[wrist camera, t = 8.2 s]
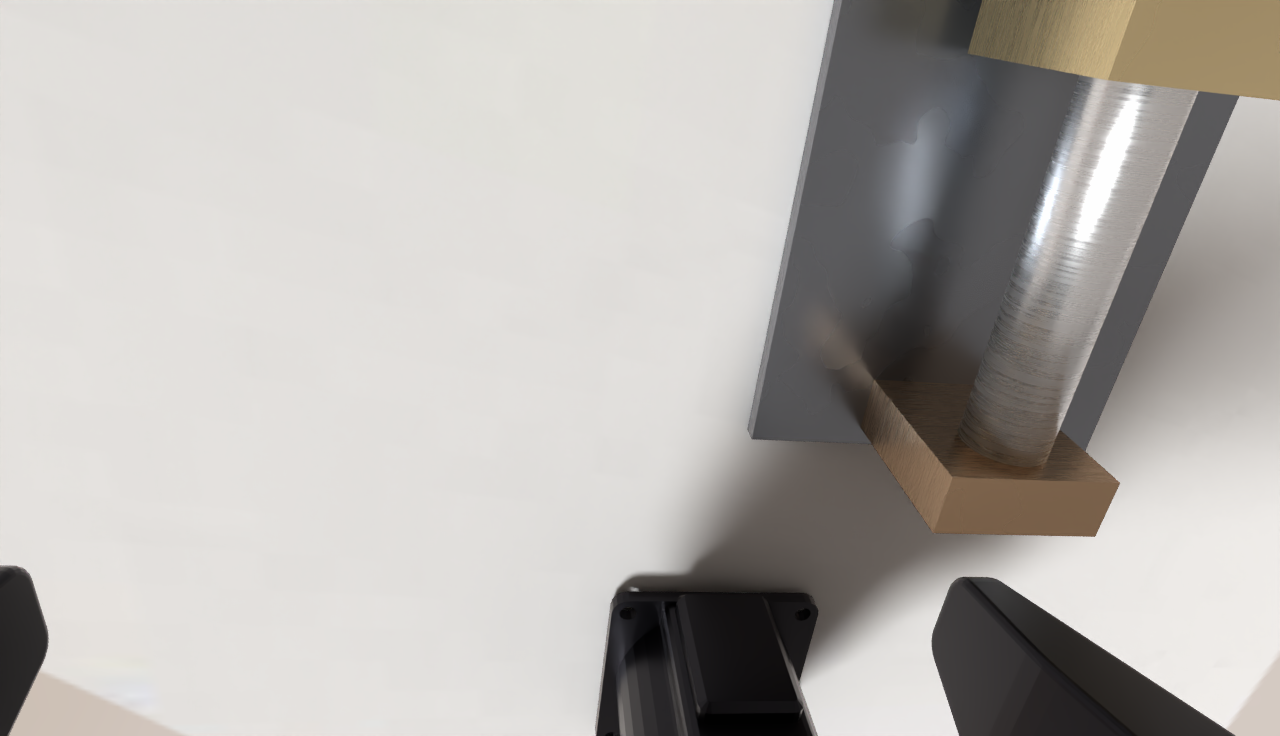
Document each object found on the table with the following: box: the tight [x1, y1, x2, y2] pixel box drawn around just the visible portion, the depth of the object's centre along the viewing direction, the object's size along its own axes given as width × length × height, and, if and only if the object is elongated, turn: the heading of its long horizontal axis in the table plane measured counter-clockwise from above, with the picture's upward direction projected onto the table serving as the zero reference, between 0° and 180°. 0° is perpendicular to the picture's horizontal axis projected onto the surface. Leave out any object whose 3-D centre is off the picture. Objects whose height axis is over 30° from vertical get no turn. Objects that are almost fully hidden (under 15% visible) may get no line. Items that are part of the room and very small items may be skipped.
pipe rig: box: [748, 0, 1239, 537], centre depth 15 cm, size 22×10×5 cm, turn 173°
